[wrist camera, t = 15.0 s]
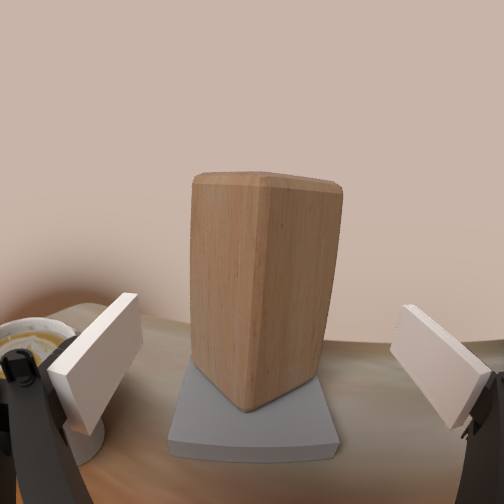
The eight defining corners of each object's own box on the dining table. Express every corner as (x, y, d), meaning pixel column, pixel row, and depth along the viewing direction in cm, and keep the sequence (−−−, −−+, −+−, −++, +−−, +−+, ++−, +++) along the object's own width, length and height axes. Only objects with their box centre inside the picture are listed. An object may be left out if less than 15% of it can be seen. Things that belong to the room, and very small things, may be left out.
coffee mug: (68, 487, 12) (13, 402, 10) (1, 432, 14) (-42, 347, 11) (139, 401, 25) (124, 319, 23) (73, 373, 27) (54, 297, 24)
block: (188, 364, 29) (188, 172, 24) (259, 341, 35) (271, 178, 31) (243, 419, 21) (259, 170, 17) (318, 379, 28) (348, 183, 23)
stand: (306, 371, 33) (310, 355, 32) (332, 458, 19) (340, 442, 19) (193, 367, 32) (192, 351, 32) (170, 455, 19) (166, 439, 18)
